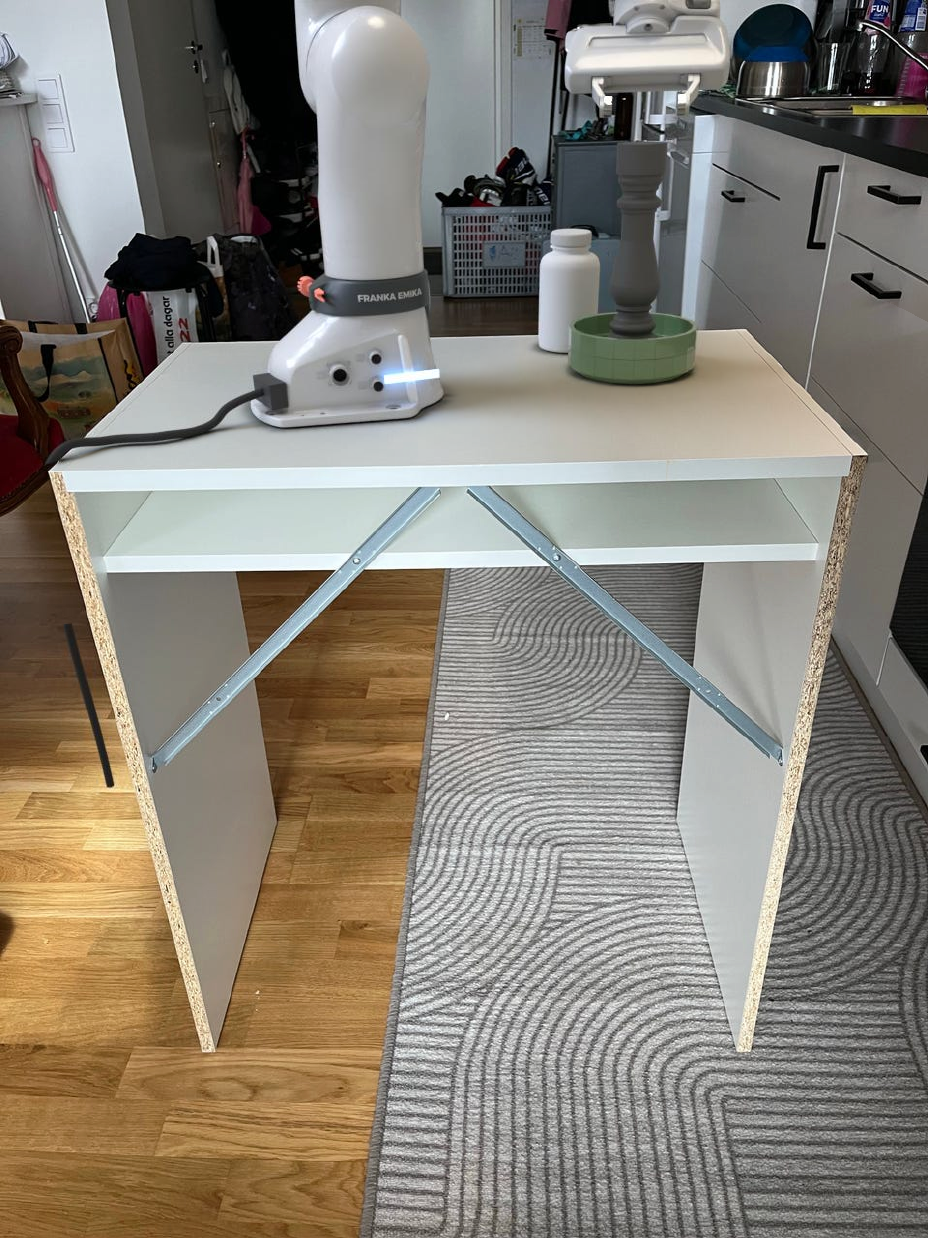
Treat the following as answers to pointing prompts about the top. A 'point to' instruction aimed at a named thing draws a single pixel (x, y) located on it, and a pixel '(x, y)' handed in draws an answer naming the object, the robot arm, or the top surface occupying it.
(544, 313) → the pill bottle
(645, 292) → the candle holder
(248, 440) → the top surface
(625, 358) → the bowl
